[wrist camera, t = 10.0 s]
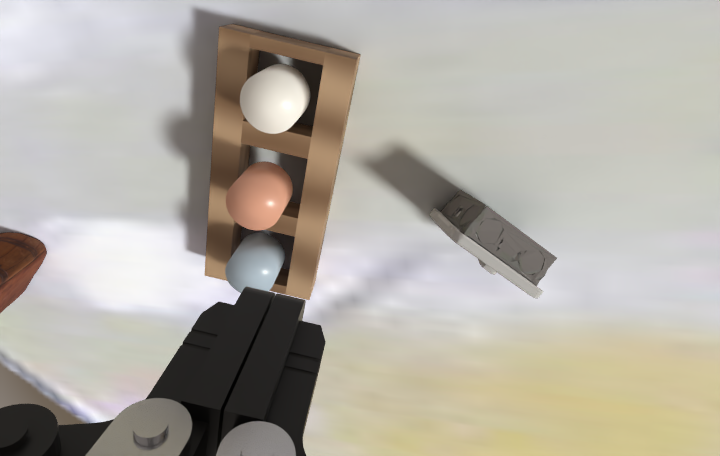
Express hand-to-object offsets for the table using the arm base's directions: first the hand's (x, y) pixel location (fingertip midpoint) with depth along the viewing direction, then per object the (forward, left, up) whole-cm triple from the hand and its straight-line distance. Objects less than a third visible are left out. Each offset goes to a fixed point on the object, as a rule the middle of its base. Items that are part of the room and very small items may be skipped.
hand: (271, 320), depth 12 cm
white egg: (+2, -7, -29) cm, 30 cm away
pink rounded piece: (+10, -7, -28) cm, 31 cm away
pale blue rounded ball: (+18, -7, -30) cm, 36 cm away
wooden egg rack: (+10, -7, -32) cm, 34 cm away
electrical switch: (+10, +13, -32) cm, 36 cm away
